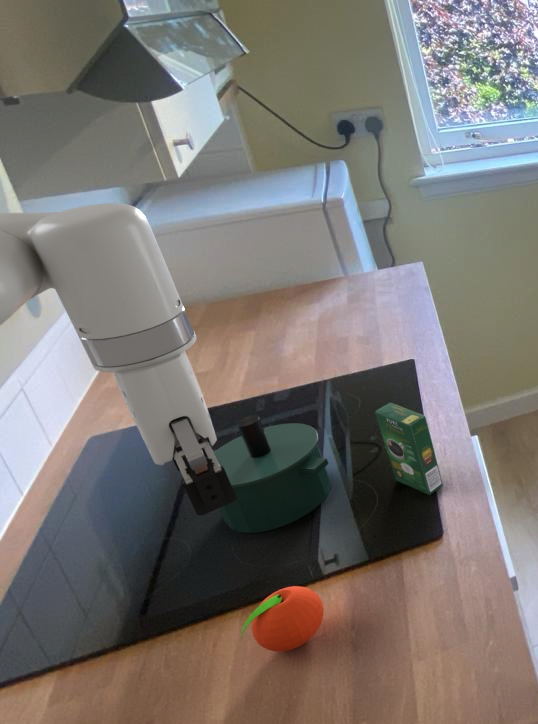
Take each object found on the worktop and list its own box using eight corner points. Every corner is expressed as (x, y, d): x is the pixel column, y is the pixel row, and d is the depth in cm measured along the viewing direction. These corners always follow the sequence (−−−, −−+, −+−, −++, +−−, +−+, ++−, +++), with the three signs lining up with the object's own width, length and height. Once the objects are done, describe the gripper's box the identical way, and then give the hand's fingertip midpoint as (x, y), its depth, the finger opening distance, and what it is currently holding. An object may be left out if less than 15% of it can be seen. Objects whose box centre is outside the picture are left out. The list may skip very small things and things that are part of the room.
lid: (267, 495, 99) (251, 455, 96) (176, 487, 101) (157, 448, 98) (341, 432, 112) (329, 395, 109) (259, 426, 114) (245, 390, 111)
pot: (302, 538, 102) (283, 490, 99) (186, 527, 105) (164, 480, 101) (366, 476, 114) (351, 431, 111) (260, 467, 117) (243, 424, 113)
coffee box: (446, 485, 112) (426, 413, 106) (430, 497, 109) (408, 424, 104) (411, 470, 115) (390, 400, 110) (395, 481, 113) (372, 410, 107)
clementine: (265, 683, 82) (244, 638, 79) (242, 651, 86) (221, 607, 83) (341, 633, 88) (323, 589, 85) (316, 605, 91) (299, 563, 88)
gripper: (76, 323, 71) (146, 466, 77) (98, 388, 60) (177, 548, 67) (174, 297, 75) (231, 434, 82) (210, 353, 64) (272, 505, 71)
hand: (207, 484), depth 74 cm, fingers open, 9 cm apart
